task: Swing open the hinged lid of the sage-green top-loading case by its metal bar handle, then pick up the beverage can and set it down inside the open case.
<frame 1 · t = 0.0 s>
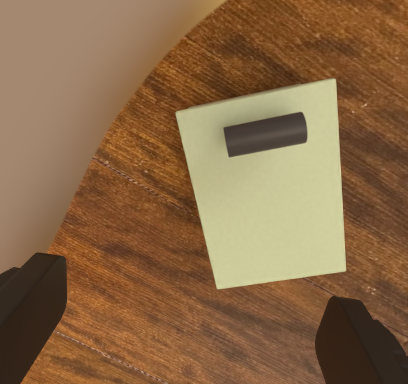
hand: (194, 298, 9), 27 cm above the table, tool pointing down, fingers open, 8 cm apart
lid: (271, 208, 24), point 13 cm above the table, hinge at 0.0°
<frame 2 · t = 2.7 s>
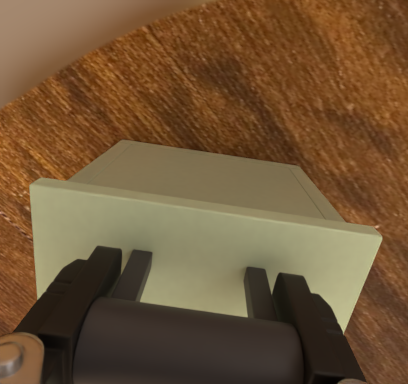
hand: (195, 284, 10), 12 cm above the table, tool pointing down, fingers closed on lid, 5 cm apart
case: (195, 253, 23), on the table
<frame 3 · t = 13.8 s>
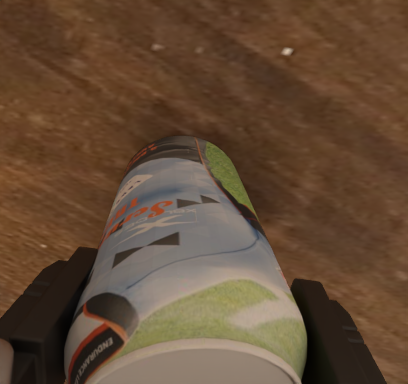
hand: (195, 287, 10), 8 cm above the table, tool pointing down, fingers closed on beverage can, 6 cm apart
beverage can: (194, 190, 17), on the table, touching gripper
when the fingers open (9 cm above the table, at t = 23.4 s): beverage can stays where it is, resting on case.
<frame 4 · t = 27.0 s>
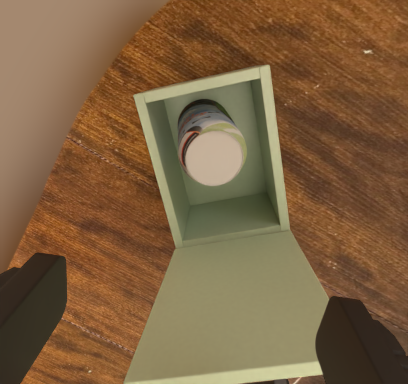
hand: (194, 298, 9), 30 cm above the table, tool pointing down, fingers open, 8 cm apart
case: (217, 144, 38), on the table
lid: (239, 313, 24), point 19 cm above the table, hinge at 82.0°
beverage can: (209, 127, 37), point 1 cm above the table, touching case
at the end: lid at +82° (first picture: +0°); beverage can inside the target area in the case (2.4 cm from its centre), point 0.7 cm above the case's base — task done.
